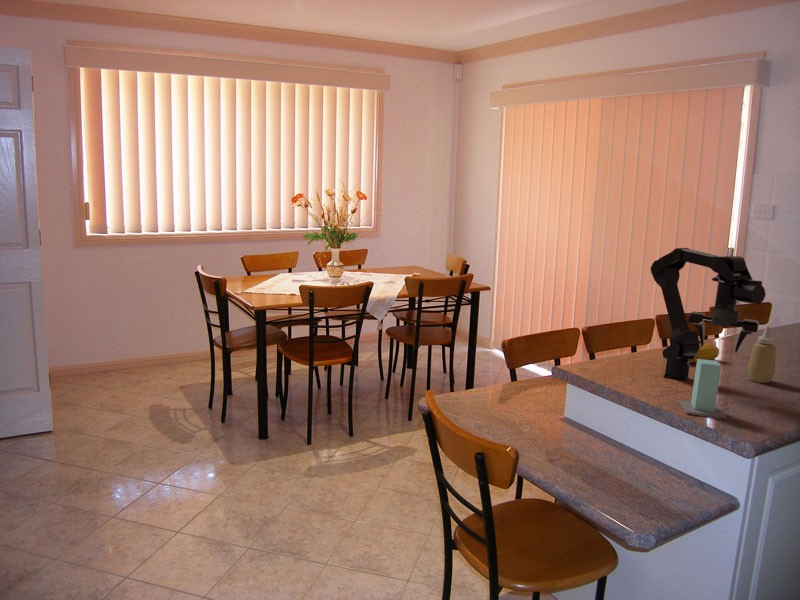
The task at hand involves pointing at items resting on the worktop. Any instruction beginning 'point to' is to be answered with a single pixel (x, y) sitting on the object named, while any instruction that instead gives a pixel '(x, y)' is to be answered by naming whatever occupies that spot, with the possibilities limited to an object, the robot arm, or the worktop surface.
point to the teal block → (705, 385)
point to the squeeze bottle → (762, 359)
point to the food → (706, 353)
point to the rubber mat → (690, 410)
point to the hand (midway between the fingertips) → (718, 349)
